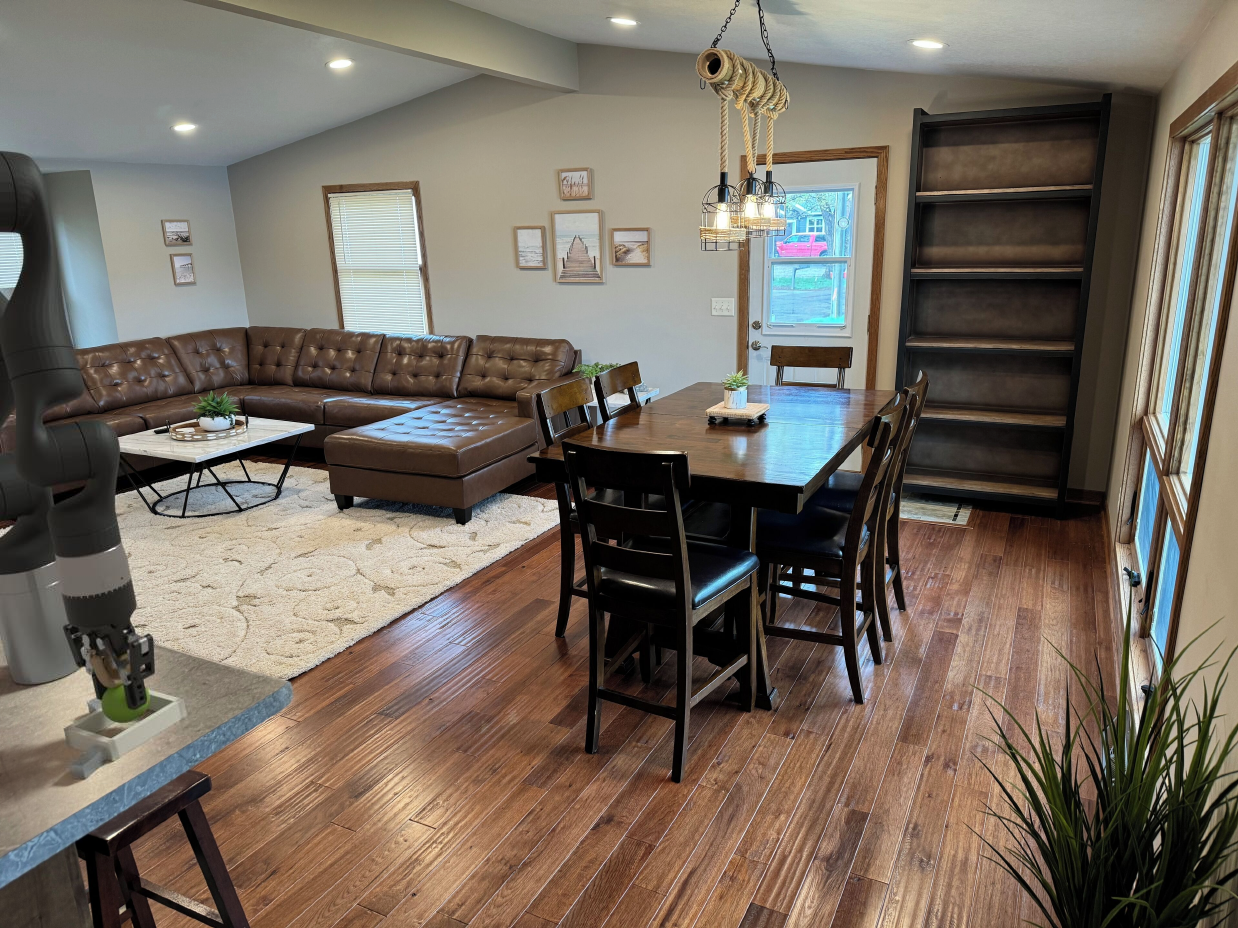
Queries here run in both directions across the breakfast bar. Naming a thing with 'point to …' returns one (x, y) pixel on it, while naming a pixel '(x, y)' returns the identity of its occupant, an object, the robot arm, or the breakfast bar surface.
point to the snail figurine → (115, 691)
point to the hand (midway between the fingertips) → (122, 701)
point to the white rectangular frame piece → (112, 749)
